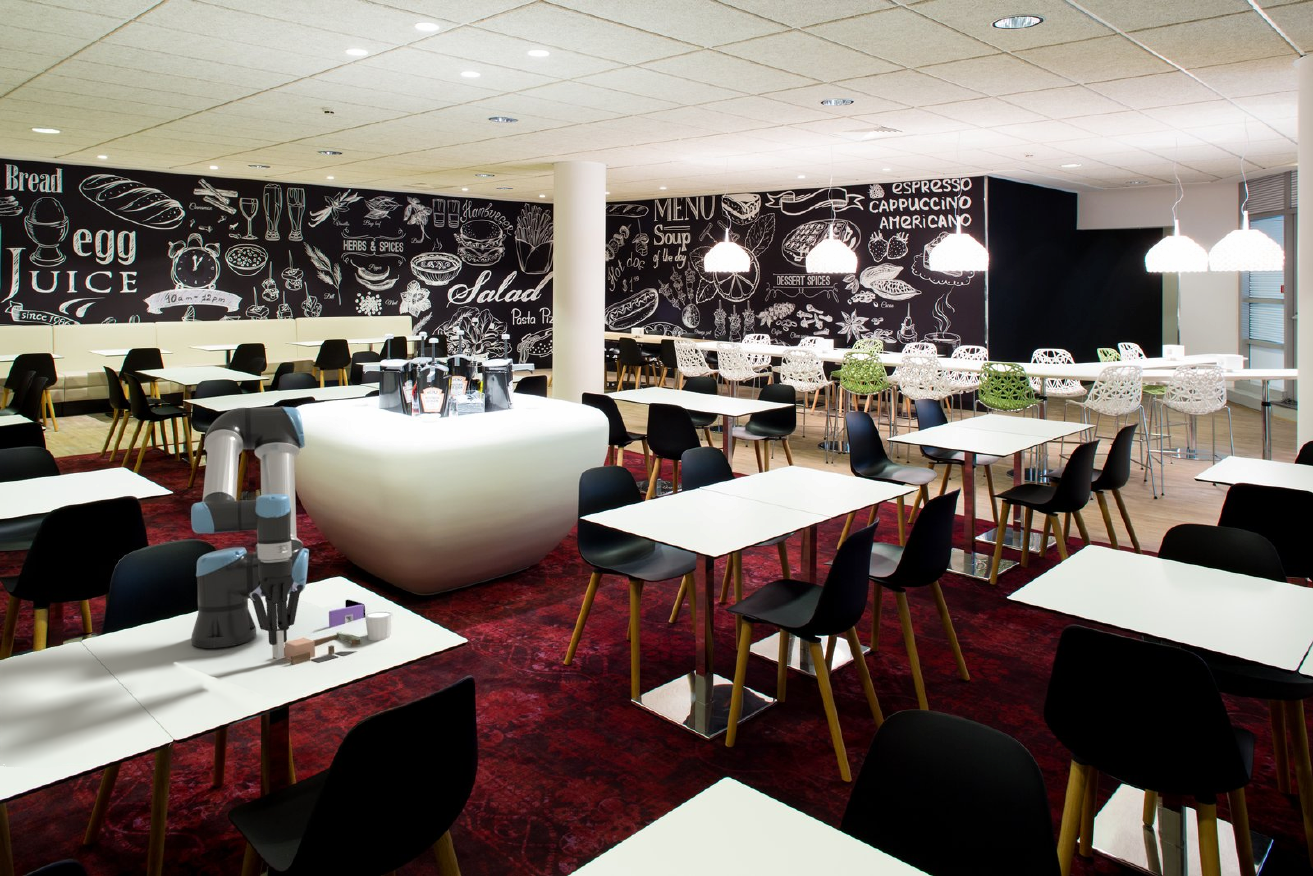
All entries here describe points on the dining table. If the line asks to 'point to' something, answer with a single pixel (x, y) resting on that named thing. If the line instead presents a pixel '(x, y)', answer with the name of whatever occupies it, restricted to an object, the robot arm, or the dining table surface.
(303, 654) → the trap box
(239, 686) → the dining table surface
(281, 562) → the robot arm
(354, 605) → the miniature room corner
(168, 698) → the dining table surface
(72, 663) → the dining table surface
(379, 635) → the white cup
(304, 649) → the block
